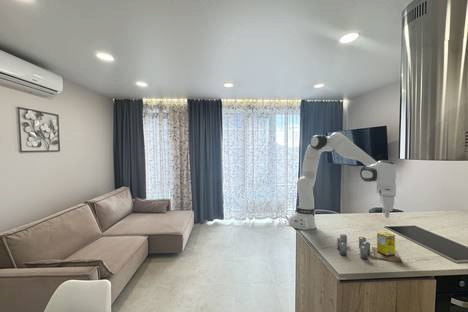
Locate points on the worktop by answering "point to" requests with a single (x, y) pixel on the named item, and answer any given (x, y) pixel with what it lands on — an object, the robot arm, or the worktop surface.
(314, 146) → the robot arm
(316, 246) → the worktop surface
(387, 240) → the supplement box
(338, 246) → the spacer field
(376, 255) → the walnut pad
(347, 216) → the worktop surface
